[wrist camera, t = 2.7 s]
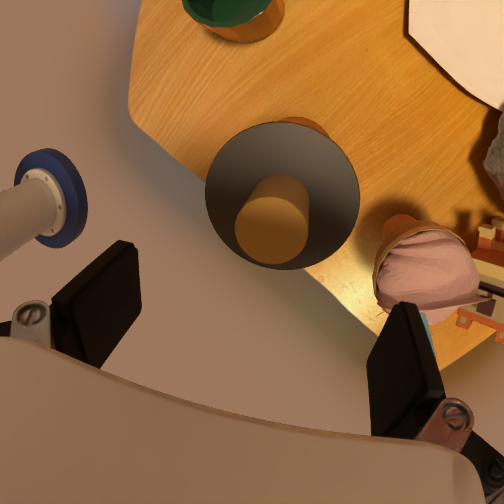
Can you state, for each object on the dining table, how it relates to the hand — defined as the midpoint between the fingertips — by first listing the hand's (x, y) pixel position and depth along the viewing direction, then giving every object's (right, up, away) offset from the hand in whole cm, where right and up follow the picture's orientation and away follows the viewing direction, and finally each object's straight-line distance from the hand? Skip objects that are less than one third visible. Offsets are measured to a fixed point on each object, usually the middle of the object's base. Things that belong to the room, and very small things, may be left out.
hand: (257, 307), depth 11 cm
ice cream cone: (+19, +5, +28) cm, 34 cm away
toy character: (+31, +5, +17) cm, 36 cm away
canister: (-1, +31, +18) cm, 36 cm away
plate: (+30, +31, +12) cm, 44 cm away
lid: (+2, +5, +9) cm, 11 cm away
